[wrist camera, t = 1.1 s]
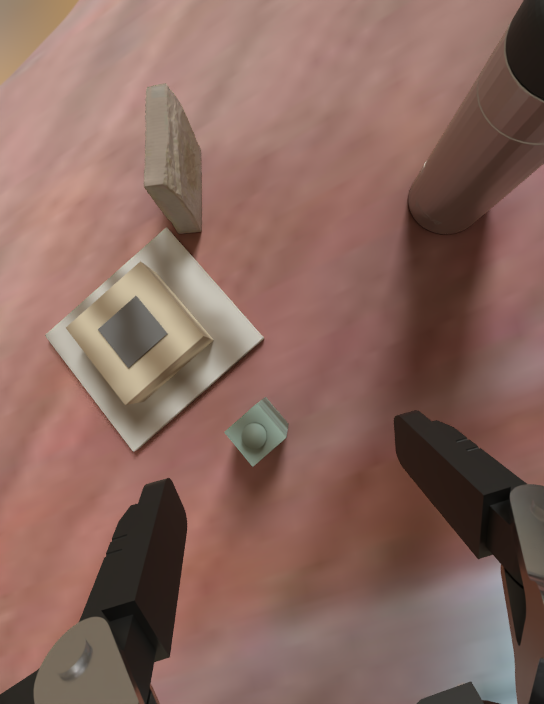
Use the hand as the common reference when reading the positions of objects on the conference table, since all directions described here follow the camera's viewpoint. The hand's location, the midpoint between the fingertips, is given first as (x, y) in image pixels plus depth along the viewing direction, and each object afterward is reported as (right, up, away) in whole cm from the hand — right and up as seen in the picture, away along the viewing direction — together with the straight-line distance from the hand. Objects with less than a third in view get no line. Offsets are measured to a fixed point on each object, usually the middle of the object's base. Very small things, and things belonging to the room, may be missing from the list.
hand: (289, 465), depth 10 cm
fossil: (-12, +26, +30) cm, 41 cm away
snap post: (-2, -5, +26) cm, 27 cm away
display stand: (-16, +6, +28) cm, 33 cm away
